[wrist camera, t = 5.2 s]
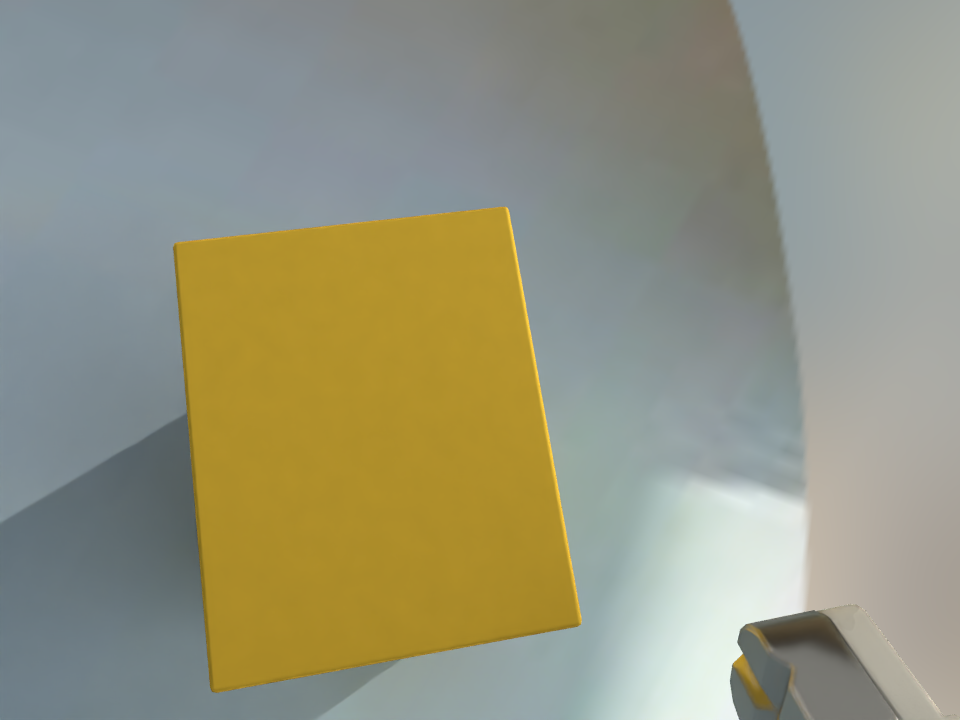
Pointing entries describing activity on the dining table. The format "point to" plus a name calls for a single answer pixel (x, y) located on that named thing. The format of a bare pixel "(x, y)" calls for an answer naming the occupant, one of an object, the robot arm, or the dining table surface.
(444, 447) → the sponge
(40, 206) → the dining table surface
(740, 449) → the dining table surface
